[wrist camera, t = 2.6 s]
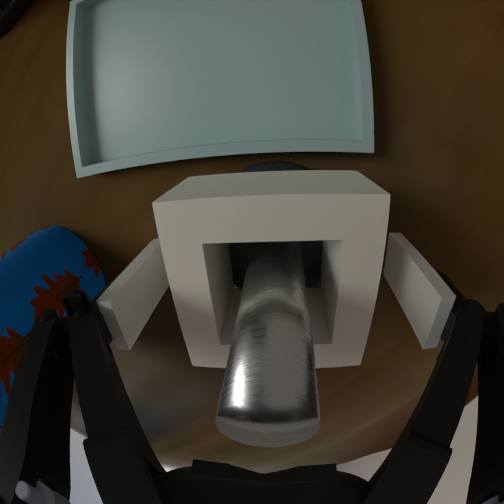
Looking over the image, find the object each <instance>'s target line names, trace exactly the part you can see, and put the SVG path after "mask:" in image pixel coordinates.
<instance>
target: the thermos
mask: <svg viewBox="0 0 504 504" xmlns="http://www.w3.org/2000/svg"><path fill="white" fill-rule="evenodd" d="M104 287H105V279H104V276H103V273H102V271H101V268H100V266H99V263H98V261H97V259H96V258H95V256H94V255H93V254H92V252H91V251H90V249H89V248H88V246H87V245H86V244H85V243H84V242H83V241H82V240H81V239H80V238H78V237H77V236H76V235H75V234H74V233H73V232H71V231H69V230H67V229H64V228H62V227H60V226H47V227H45V228H43V229H41V230H39V231H38V232H36V233H34V234H32V235H30V236H28V237H27V238H25V239H23V240H21V241H20V242H18V243H17V244H16V245H14V246H13V247H11V248H10V249H8V250H7V251H6V252H4V253H3V254H1V255H0V437H1V432H2V426H3V421H4V416H5V411H6V407H7V403H8V399H9V395H10V391H11V387H12V384H13V380H14V377H15V374H16V370H17V367H18V364H19V361H20V358H21V355H22V352H23V350H24V347H25V344H26V341H27V339H28V336H29V334H30V331H31V329H32V326H33V324H34V321H35V319H36V317H37V316H38V315H39V314H40V313H41V312H43V311H45V310H50V309H53V310H55V311H56V312H57V314H58V317H59V318H61V317H68V316H67V313H66V311H65V309H64V307H63V305H62V302H61V300H62V298H63V297H64V296H65V295H66V294H67V293H69V292H71V291H73V290H77V289H83V290H85V291H86V293H87V295H88V298H89V300H90V302H91V301H92V300H93V299H94V298H95V297H96V296H97V295H98V293H100V291H101V290H102V289H103V288H104Z"/></svg>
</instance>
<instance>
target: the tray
mask: <svg viewBox="0 0 504 504" xmlns="http://www.w3.org/2000/svg"><path fill="white" fill-rule="evenodd" d="M66 82H67V103H68V116H69V127H70V136H71V144H72V151H73V158H74V164H75V170H76V176H77V178H79V177H84V176H88V175H93V174H98V173H103V172H108V171H113V170H118V169H123V168H129V167H135V166H141V165H147V164H154V163H161V162H168V161H175V160H183V159H192V158H201V157H211V156H222V155H235V154H250V153H269V152H362V153H374V112H373V92H372V78H371V67H370V57H369V48H368V41H367V33H366V27H365V20H364V15H363V9H362V4H361V0H72V1H70V9H69V18H68V30H67V50H66Z"/></svg>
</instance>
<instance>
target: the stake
mask: <svg viewBox="0 0 504 504" xmlns="http://www.w3.org/2000/svg"><path fill="white" fill-rule="evenodd" d="M295 170H308V169H306V168H304V167H302V166H300V165H297V164H293V163H289V162H283V161H270V162H263V163H259V164H255V165H253V166H250V167H248V168H246V169H244V170H242V171H240V172H239V173H244V172H264V171H295ZM322 248H323V240H315V241H273V242H237V243H229V250H230V259H231V268H232V276H233V283H234V284H236V285H237V286H238V287H239V288H241V289H242V294H241V299H240V304H239V308H238V313H237V318H236V323H235V327H234V332H233V337H232V342H231V347H230V351H229V356H228V361H227V366H226V371H225V375H224V380H223V385H222V390H221V395H220V399H219V404H218V409H217V414H216V419H215V423H216V426H217V428H218V429H219V431H220V432H221V433H223V434H224V435H225V436H227V437H229V438H230V439H233V440H235V441H237V442H240V443H243V444H247V445H252V446H259V447H282V446H289V445H293V444H297V443H300V442H303V441H305V440H307V439H309V438H311V437H312V436H313V435H315V434H316V433H317V431H318V430H319V428H320V413H319V400H318V388H317V377H316V367H315V357H314V347H313V338H312V329H311V321H310V313H309V305H308V297H307V290H306V288H313V287H314V286H316V285H317V284H318V283H319V282H320V281H321V269H322Z"/></svg>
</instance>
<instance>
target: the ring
mask: <svg viewBox="0 0 504 504" xmlns="http://www.w3.org/2000/svg"><path fill="white" fill-rule="evenodd" d="M390 195H391V194H389V193H388V192H386V191H385V190H384V189H382V188H381V187H379V186H378V185H377V184H375V183H374V182H372V181H371V180H369V179H368V178H367V177H365V176H364V175H362V174H361V173H359V172H358V171H349V170H295V171H264V172H244V173H229V174H215V175H203V176H192V177H188V178H187V179H185V180H184V181H182V182H181V183H179V184H178V185H176V186H175V187H174V188H172V189H171V190H169V191H168V192H166V193H165V194H163V195H162V196H161V197H159V198H158V199H156V200H155V201H154V202H152V205H153V210H154V216H155V221H156V226H157V231H158V236H159V241H160V246H161V250H162V255H163V259H164V264H165V268H166V272H167V277H168V281H169V285H170V289H171V293H172V297H173V301H174V304H175V308H176V312H177V315H178V319H179V323H180V326H181V330H182V333H183V337H184V340H185V343H186V347H187V350H188V353H189V356H190V359H191V363H192V366H201V367H215V368H226V366H227V361H228V356H229V351H230V347H231V342H232V337H233V332H234V327H235V323H236V318H237V313H238V308H239V304H240V299H241V294H242V289H234V284H233V276H232V268H231V259H230V250H229V243H237V242H273V241H315V240H323V248H322V269H321V286H320V287H319V288H306V290H307V297H308V305H309V313H310V321H311V329H312V338H313V347H314V357H315V367H316V368H329V367H343V366H355V365H360V364H361V361H362V357H363V353H364V350H365V346H366V342H367V338H368V334H369V330H370V326H371V321H372V317H373V312H374V308H375V303H376V298H377V293H378V288H379V282H380V276H381V271H382V264H383V258H384V251H385V244H386V236H387V227H388V218H389V208H390Z"/></svg>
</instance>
